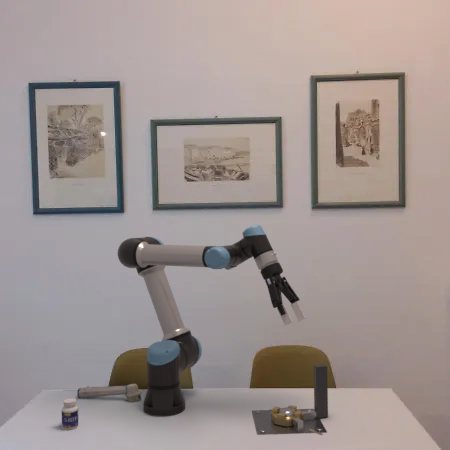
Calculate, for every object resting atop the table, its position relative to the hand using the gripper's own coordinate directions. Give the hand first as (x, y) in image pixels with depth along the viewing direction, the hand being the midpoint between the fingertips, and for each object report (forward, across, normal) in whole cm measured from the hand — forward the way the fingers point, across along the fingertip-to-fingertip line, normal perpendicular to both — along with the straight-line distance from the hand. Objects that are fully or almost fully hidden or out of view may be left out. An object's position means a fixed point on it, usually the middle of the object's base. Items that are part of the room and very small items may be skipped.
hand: (295, 321), depth 171 cm
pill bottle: (+1, -36, +75) cm, 83 cm away
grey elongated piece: (-4, -10, +79) cm, 80 cm away
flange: (+29, -4, +17) cm, 33 cm away
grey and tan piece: (+29, -1, +13) cm, 32 cm away
